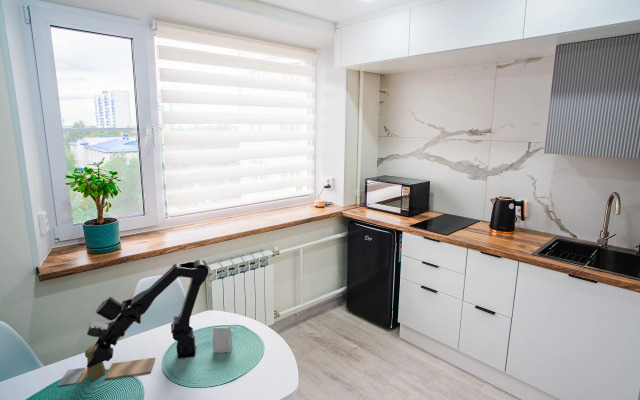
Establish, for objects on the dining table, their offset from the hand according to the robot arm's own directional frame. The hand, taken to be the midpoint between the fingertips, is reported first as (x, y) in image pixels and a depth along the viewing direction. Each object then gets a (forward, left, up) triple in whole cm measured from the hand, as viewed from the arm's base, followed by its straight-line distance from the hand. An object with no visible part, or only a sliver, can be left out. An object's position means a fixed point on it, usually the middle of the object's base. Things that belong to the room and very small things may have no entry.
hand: (89, 359), depth 133 cm
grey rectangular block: (-47, -5, -7) cm, 48 cm away
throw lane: (-5, 0, -7) cm, 8 cm away
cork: (-1, 0, -7) cm, 7 cm away
